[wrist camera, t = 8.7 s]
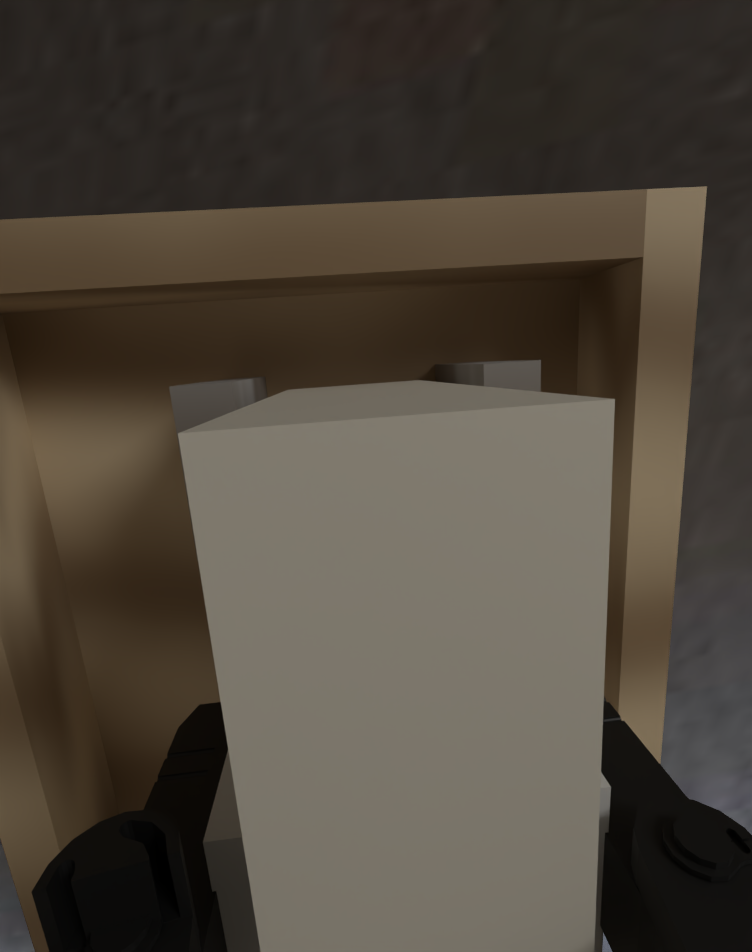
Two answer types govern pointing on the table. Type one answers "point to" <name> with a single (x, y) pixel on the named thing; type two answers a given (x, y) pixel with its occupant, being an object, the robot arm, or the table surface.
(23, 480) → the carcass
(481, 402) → the beige rectangular block
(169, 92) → the table surface
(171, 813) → the robot arm
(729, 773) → the table surface
